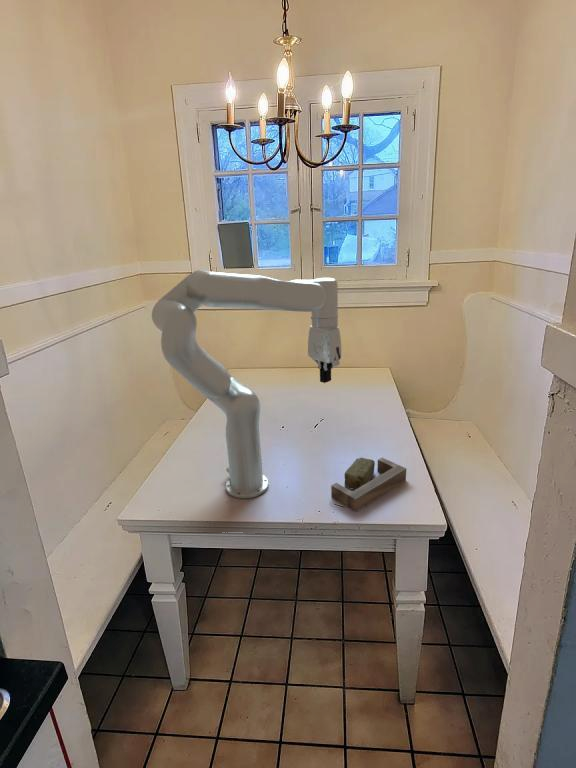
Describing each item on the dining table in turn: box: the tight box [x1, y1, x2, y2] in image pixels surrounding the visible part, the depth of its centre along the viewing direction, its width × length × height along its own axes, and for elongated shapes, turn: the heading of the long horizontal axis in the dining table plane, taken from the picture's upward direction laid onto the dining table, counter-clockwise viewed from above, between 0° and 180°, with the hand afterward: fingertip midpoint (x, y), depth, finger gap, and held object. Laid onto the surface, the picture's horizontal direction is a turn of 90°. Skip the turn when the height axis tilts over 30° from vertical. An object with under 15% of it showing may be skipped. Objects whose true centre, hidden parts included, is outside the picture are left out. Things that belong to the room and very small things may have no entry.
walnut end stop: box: [330, 457, 407, 513], centre depth 130 cm, size 9×22×4 cm, turn 130°
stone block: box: [344, 457, 376, 490], centre depth 134 cm, size 6×12×5 cm, turn 150°
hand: (325, 381), depth 137 cm, fingers closed
